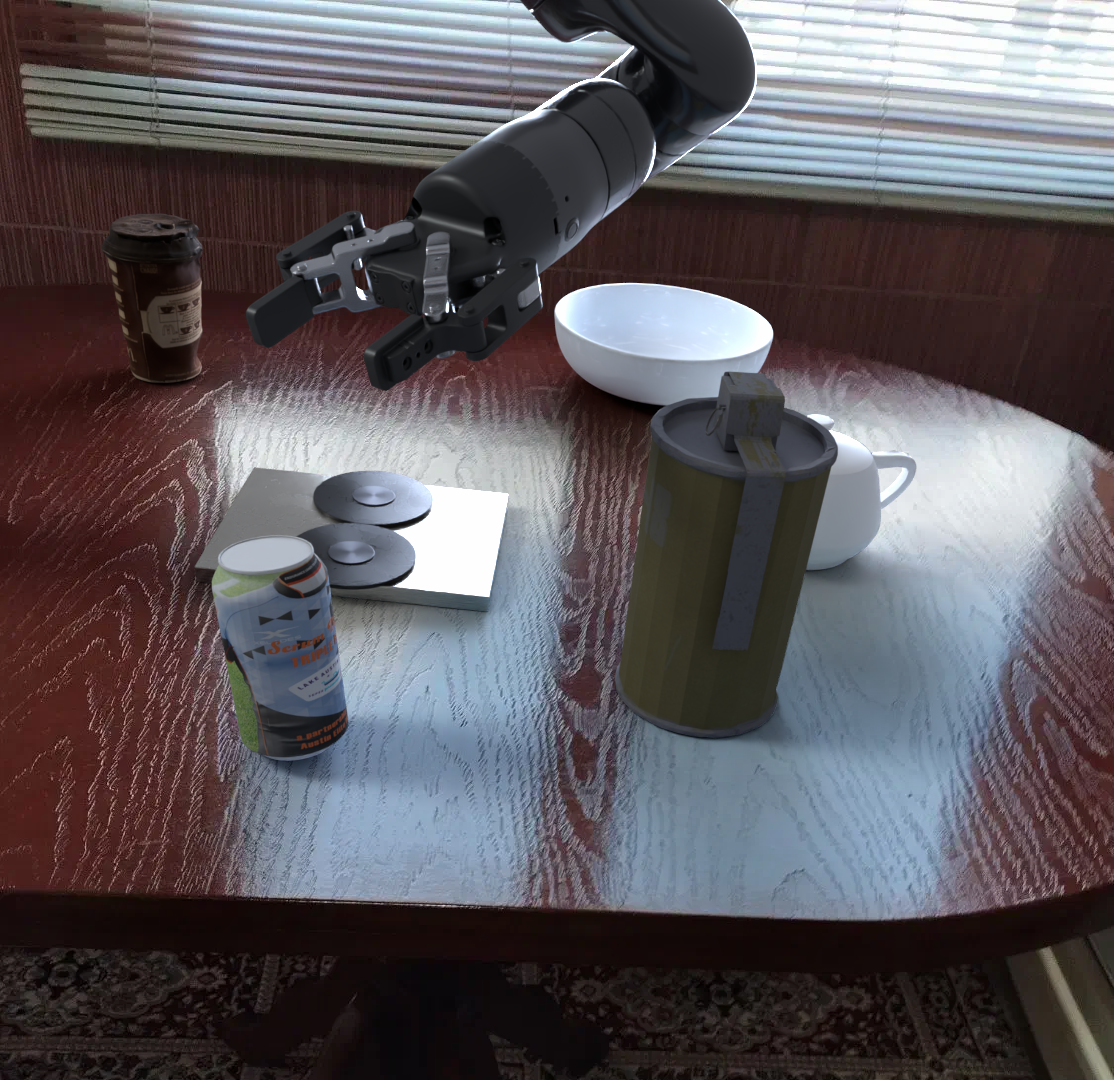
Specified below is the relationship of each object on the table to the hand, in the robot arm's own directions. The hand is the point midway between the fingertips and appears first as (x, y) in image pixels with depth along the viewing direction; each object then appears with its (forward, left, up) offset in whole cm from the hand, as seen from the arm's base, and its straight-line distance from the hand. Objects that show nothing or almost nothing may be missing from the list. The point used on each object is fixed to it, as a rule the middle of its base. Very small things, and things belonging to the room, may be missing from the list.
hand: (311, 351), depth 60 cm
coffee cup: (-24, +47, -21) cm, 57 cm away
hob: (-1, +19, -21) cm, 29 cm away
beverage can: (-1, -5, -21) cm, 22 cm away
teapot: (+31, +26, -21) cm, 46 cm away
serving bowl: (+21, +56, -21) cm, 64 cm away
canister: (+23, +4, -21) cm, 32 cm away
